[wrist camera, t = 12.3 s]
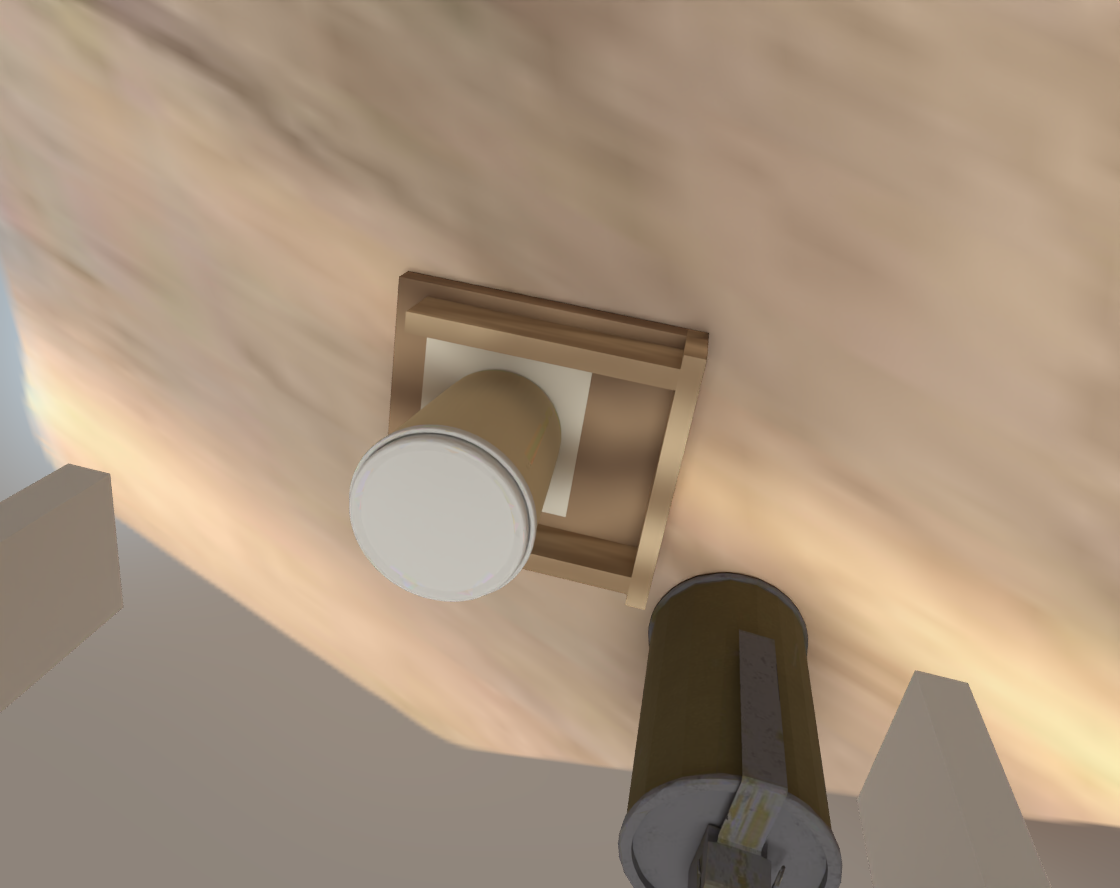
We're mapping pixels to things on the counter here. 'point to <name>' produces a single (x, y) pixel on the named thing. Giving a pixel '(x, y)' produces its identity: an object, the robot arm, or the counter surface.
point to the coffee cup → (459, 488)
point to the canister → (728, 747)
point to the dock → (568, 413)
